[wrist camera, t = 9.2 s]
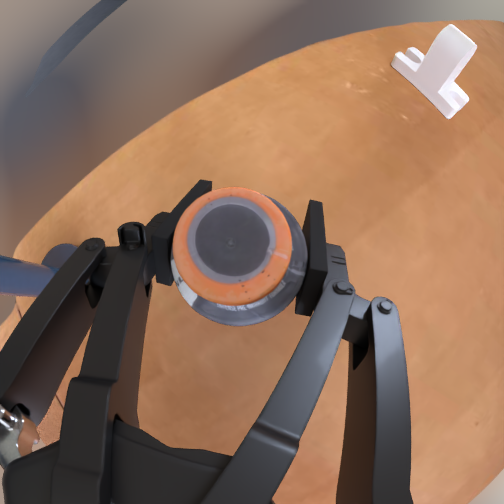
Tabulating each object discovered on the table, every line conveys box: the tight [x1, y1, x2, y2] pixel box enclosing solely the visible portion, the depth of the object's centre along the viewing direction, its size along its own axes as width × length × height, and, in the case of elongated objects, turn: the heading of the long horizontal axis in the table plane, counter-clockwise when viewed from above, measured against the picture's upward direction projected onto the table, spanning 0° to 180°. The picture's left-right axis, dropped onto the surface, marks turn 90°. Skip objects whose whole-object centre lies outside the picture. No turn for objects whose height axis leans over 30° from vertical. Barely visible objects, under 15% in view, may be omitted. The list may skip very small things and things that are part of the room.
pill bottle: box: [171, 187, 308, 326], centre depth 15 cm, size 6×6×11 cm
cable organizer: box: [391, 24, 477, 119], centre depth 20 cm, size 5×10×10 cm, turn 38°
